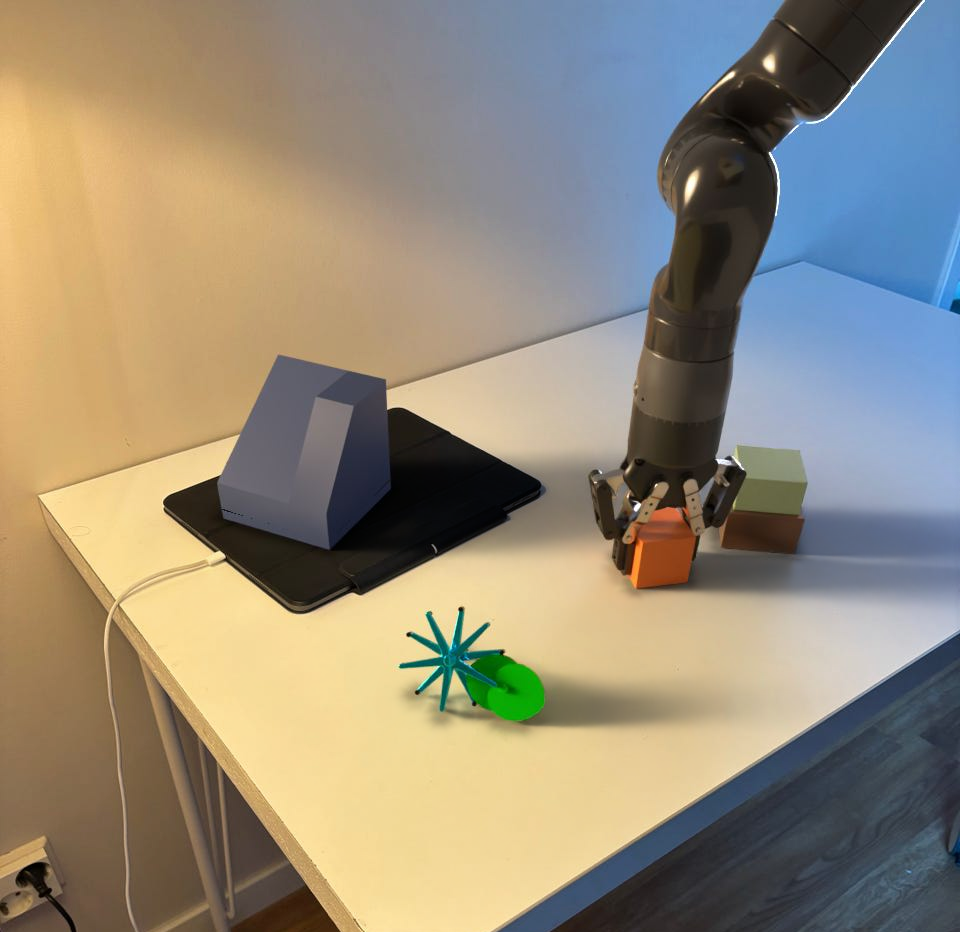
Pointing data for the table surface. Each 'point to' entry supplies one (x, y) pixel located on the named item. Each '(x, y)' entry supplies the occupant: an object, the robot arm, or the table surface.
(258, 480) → the phone stand
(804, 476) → the green block
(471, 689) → the stick construction toy
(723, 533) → the walnut block
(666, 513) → the toy cube
